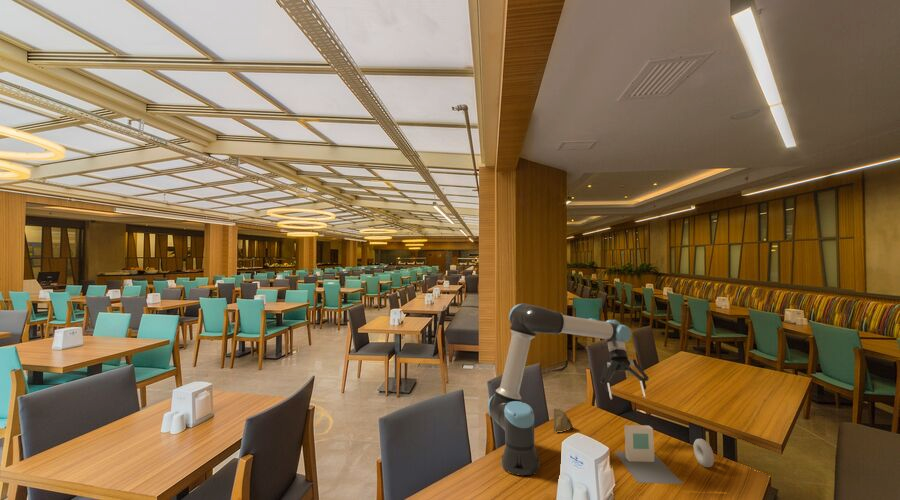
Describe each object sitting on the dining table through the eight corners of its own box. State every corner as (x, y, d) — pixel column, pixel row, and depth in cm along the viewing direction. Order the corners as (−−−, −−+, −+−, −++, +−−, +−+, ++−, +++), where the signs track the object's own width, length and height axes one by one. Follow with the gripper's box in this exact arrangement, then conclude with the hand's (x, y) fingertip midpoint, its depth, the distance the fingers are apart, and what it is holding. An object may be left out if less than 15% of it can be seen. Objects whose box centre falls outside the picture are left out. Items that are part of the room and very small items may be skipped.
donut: (716, 473, 136) (715, 446, 136) (707, 472, 136) (705, 445, 136) (700, 459, 146) (699, 434, 146) (692, 458, 146) (690, 433, 146)
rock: (571, 420, 179) (551, 416, 181) (575, 410, 174) (554, 406, 176) (573, 441, 170) (552, 437, 172) (577, 432, 166) (555, 427, 167)
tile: (625, 457, 147) (624, 425, 147) (650, 457, 146) (649, 425, 147) (629, 461, 144) (627, 428, 144) (654, 461, 143) (653, 428, 144)
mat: (614, 453, 151) (614, 451, 151) (652, 453, 150) (652, 452, 150) (637, 484, 129) (637, 482, 129) (683, 485, 128) (683, 483, 128)
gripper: (646, 352, 167) (659, 398, 154) (591, 356, 177) (598, 401, 164) (646, 345, 162) (659, 393, 149) (589, 351, 172) (596, 396, 159)
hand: (627, 397), depth 156 cm, fingers open, 13 cm apart
